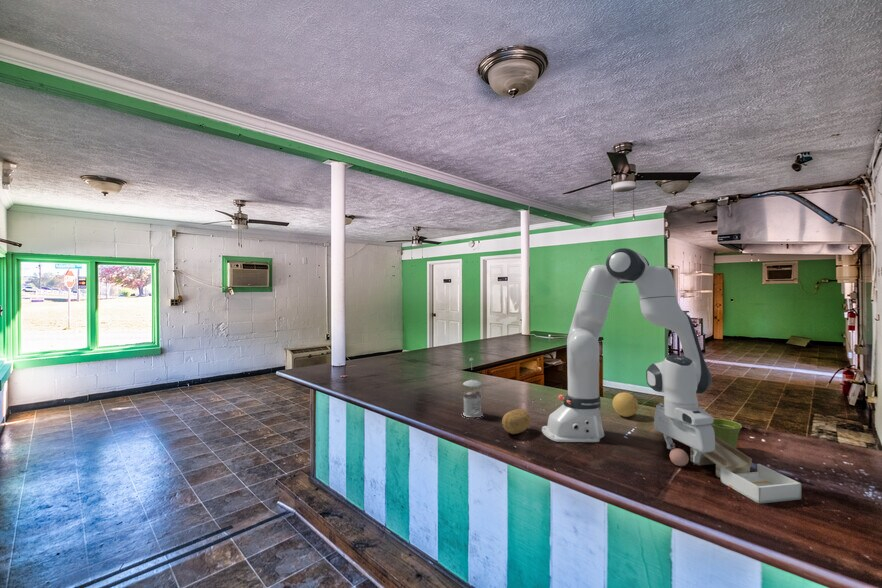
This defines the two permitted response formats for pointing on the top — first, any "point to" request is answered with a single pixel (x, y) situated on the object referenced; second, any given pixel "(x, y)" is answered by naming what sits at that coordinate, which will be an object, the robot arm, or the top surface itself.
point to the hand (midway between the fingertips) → (682, 455)
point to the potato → (516, 421)
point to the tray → (763, 485)
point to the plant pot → (727, 430)
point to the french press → (472, 399)
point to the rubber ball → (679, 457)
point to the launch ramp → (725, 458)
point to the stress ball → (625, 404)
